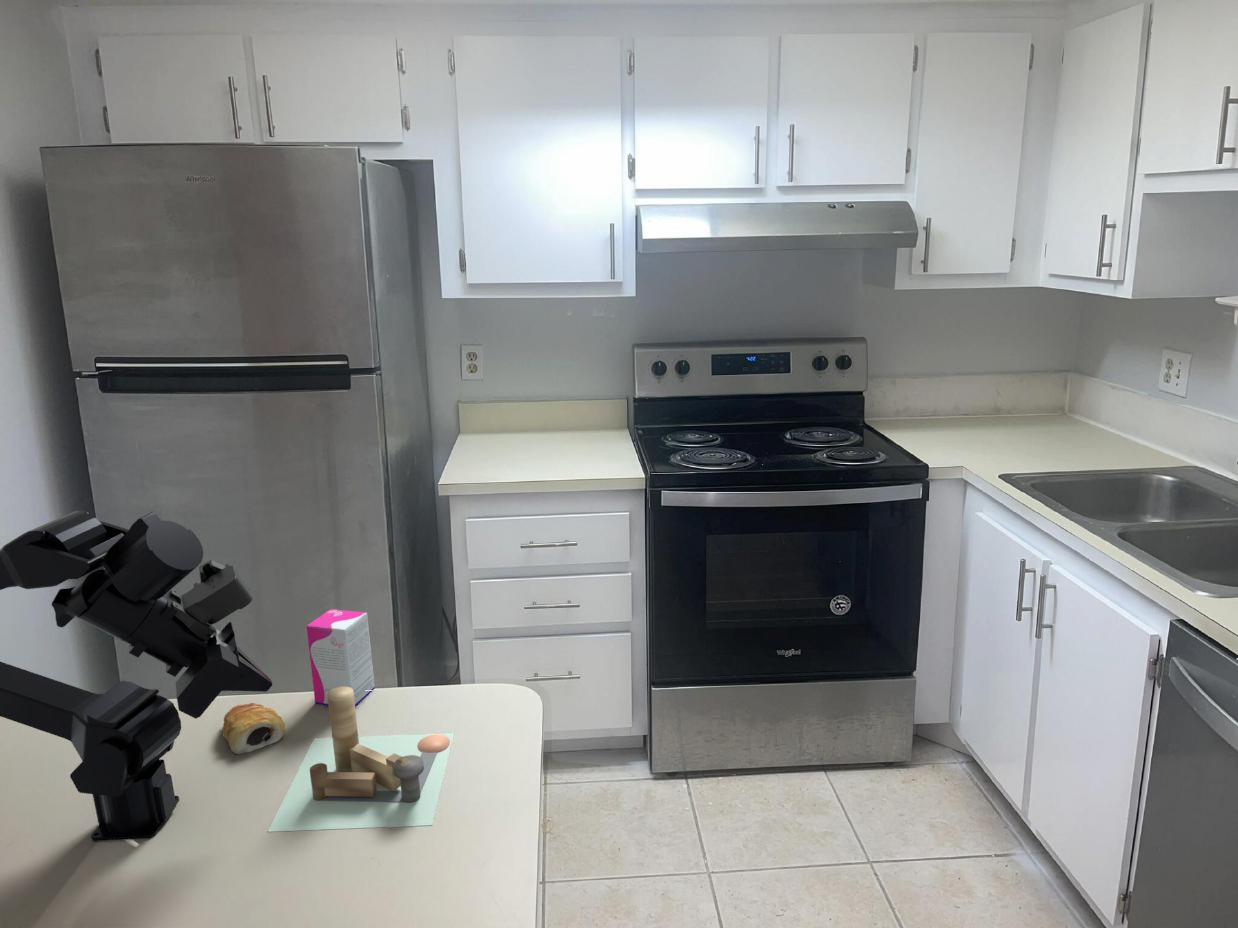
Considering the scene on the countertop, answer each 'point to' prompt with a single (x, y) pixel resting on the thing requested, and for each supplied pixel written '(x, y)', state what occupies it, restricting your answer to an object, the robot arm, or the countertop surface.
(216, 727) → the countertop surface
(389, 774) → the rail
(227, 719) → the pastry
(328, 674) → the supplement box
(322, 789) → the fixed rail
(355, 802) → the card
